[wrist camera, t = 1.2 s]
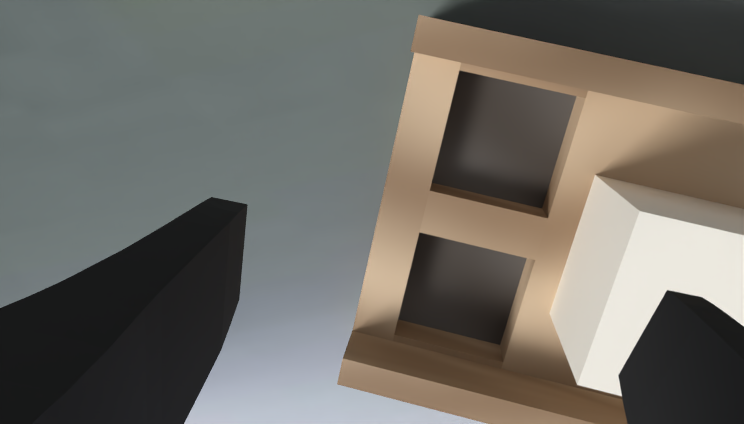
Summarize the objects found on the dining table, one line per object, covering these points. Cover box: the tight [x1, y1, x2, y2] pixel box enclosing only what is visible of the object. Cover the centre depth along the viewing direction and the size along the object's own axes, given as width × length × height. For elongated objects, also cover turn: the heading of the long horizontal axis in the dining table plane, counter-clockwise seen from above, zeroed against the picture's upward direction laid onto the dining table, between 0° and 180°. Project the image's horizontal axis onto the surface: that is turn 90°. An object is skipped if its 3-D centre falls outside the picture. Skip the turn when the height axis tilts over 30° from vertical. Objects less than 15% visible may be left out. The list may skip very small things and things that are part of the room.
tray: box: [337, 15, 744, 424], centre depth 19 cm, size 12×24×4 cm, turn 78°
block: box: [549, 175, 744, 396], centre depth 17 cm, size 5×5×4 cm
